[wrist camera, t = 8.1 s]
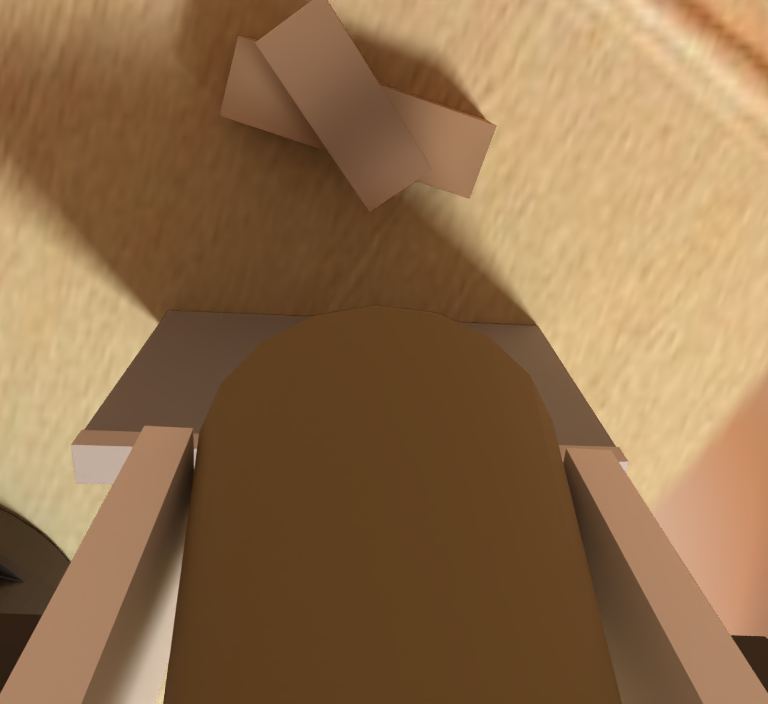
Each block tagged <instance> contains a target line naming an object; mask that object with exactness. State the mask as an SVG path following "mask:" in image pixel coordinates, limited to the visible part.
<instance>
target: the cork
mask: <svg viewBox="0 0 768 704" xmlns="http://www.w3.org/2000/svg"><path fill="white" fill-rule="evenodd" d="M163 704H622V701H621V697H620V693H619V689H618V685H617V681H616V677H615V672H614V668H613V664H612V660H611V656H610V652H609V648H608V644H607V640H606V636H605V632H604V628H603V624H602V620H601V615H600V611H599V607H598V603H597V599H596V595H595V591H594V587H593V583H592V579H591V575H590V571H589V567H588V562H587V558H586V554H585V550H584V546H583V542H582V538H581V534H580V530H579V526H578V522H577V518H576V514H575V509H574V505H573V501H572V497H571V493H570V489H569V485H568V481H567V477H566V473H565V469H564V465H563V461H562V457H561V452H560V448H559V444H558V440H557V436H556V432H555V428H554V424H553V421H552V419H551V417H550V415H549V413H548V411H547V409H546V407H545V404H544V402H543V400H542V398H541V396H540V394H539V392H538V390H537V388H536V386H535V384H534V382H533V380H532V378H531V376H530V375H529V374H528V373H527V372H526V371H525V370H524V369H523V368H522V367H521V366H520V365H519V364H518V363H517V362H516V361H514V360H513V359H512V358H511V357H510V356H509V355H508V354H507V353H506V352H505V351H504V350H503V349H502V348H501V347H500V346H499V345H498V344H497V343H496V342H495V341H494V340H492V339H491V338H490V337H488V336H486V335H484V334H482V333H480V332H477V331H475V330H473V329H471V328H469V327H467V326H464V325H462V324H460V323H458V322H456V321H454V320H451V319H449V318H447V317H445V316H443V315H441V314H438V313H435V312H427V311H420V310H412V309H404V308H396V307H388V306H380V305H372V306H366V307H360V308H355V309H349V310H343V311H337V312H331V313H326V314H320V315H314V316H312V317H310V318H308V319H306V320H304V321H302V322H300V323H299V324H297V325H295V326H293V327H291V328H289V329H287V330H285V331H283V332H281V333H279V334H277V335H275V336H273V337H271V338H269V339H267V340H265V341H264V342H262V343H260V344H259V345H258V346H257V347H256V348H255V349H254V350H253V351H252V352H251V353H250V354H249V355H248V356H247V357H246V358H245V359H244V360H243V362H242V363H241V364H240V365H239V366H238V367H237V368H236V369H235V370H234V371H233V372H232V373H231V374H230V375H229V376H228V377H227V378H226V379H225V380H224V381H223V382H222V383H221V385H220V387H219V389H218V391H217V393H216V396H215V398H214V400H213V402H212V405H211V407H210V409H209V411H208V413H207V416H206V418H205V420H204V422H203V424H202V427H201V429H200V431H199V437H198V445H197V453H196V460H195V468H194V475H193V483H192V490H191V498H190V505H189V513H188V521H187V528H186V536H185V543H184V551H183V558H182V566H181V574H180V581H179V589H178V596H177V604H176V611H175V619H174V627H173V634H172V642H171V649H170V657H169V664H168V672H167V679H166V687H165V695H164V702H163Z"/></svg>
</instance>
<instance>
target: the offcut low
mask: <svg viewBox="0 0 768 704" xmlns="http://www.w3.org/2000/svg"><path fill="white" fill-rule="evenodd" d="M256 41H258V40H257V39H255V38H252V37H249V36H241V35H238V39H237V43H236V47H235V51H234V56H233V60H232V64H231V68H230V73H229V77H228V81H227V85H226V90H225V94H224V98H223V102H222V107H221V111H220V115H219V116H222V117H225V118H228V119H231V120H234V121H237V122H240V123H243V124H246V125H249V126H252V127H255V128H258V129H261V130H264V131H267V132H270V133H273V134H276V135H279V136H282V137H285V138H288V139H291V140H294V141H297V142H300V143H303V144H306V145H309V146H312V147H315V148H318V149H321V150H324V151H327V152H328V150H327V149H326V147H325V146H324V144H323V143H322V141H321V140H320V138H319V137H318V136H317V134H316V133H315V131H314V130H313V128H312V127H311V125H310V124H309V122H308V121H307V119H306V118H305V116H304V115H303V113H302V112H301V110H300V109H299V107H298V106H297V104H296V103H295V101H294V100H293V98H292V97H291V95H290V94H289V92H288V91H287V90H286V88H285V87H284V85H283V84H282V82H281V81H280V79H279V78H278V76H277V75H276V73H275V72H274V70H273V69H272V67H271V66H270V64H269V63H268V61H267V60H266V58H265V57H264V55H263V54H262V52H261V51H260V49H259V48H258V46H257V45H256V44H255V42H256ZM379 84H380V85H381V87H382V89H383V90H384V92H385V94H386V95H387V97H388V98H389V100H390V102H391V103H392V105H393V106H394V108H395V110H396V111H397V113H398V114H399V116H400V118H401V119H402V121H403V122H404V124H405V126H406V127H407V129H408V130H409V132H410V134H411V135H412V137H413V138H414V140H415V142H416V143H417V145H418V147H419V148H420V150H421V151H422V153H423V155H424V156H425V158H426V159H427V161H428V163H429V165H430V166H431V168H432V171H430V172H429V173H427V174H426V175H424V176H423V177H421V178H420V179H418V180H417V181H418V182H421V183H424V184H427V185H430V186H433V187H436V188H439V189H442V190H445V191H448V192H451V193H454V194H457V195H460V196H463V197H466V198H470V195H471V193H472V190H473V187H474V185H475V182H476V179H477V177H478V174H479V171H480V169H481V166H482V163H483V161H484V158H485V155H486V153H487V150H488V147H489V145H490V142H491V139H492V137H493V134H494V131H495V129H496V125H494V124H492V123H491V122H489V121H487V120H485V119H482V118H479V117H476V116H474V115H471V114H468V113H465V112H462V111H459V110H457V109H454V108H451V107H448V106H445V105H442V104H440V103H437V102H434V101H431V100H428V99H425V98H422V97H420V96H417V95H414V94H411V93H408V92H405V91H403V90H400V89H397V88H394V87H391V86H388V85H385V84H383V83H380V82H379Z"/></svg>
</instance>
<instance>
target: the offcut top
mask: <svg viewBox="0 0 768 704" xmlns="http://www.w3.org/2000/svg"><path fill="white" fill-rule="evenodd" d="M255 44H256V45H257V46H258V48H259V49H260V51H261V52H262V54H263V55H264V57H265V58H266V60H267V61H268V63H269V64H270V66H271V67H272V69H273V70H274V72H275V73H276V75H277V76H278V78H279V79H280V81H281V82H282V84H283V85H284V87H285V88H286V90H287V91H288V92H289V94H290V95H291V97H292V98H293V100H294V101H295V103H296V104H297V106H298V107H299V109H300V110H301V112H302V113H303V115H304V116H305V118H306V119H307V121H308V122H309V124H310V125H311V127H312V128H313V130H314V131H315V133H316V134H317V136H318V137H319V138H320V140H321V141H322V143H323V144H324V146H325V147H326V149H327V150H328V152H329V153H330V155H331V156H332V158H333V159H334V161H335V162H336V164H337V165H338V167H339V168H340V170H341V171H342V173H343V174H344V176H345V177H346V179H347V180H348V182H349V183H350V184H351V186H352V187H353V189H354V190H355V192H356V193H357V195H358V196H359V198H360V199H361V201H362V202H363V204H364V205H365V207H366V208H367V210H368V211H369V212H370V211H372V210H373V209H375V208H376V207H378V206H379V205H381V204H382V203H384V202H385V201H387V200H388V199H390V198H391V197H393V196H394V195H396V194H397V193H399V192H400V191H402V190H403V189H405V188H406V187H408V186H409V185H411V184H412V183H414V182H415V181H417V180H418V179H420V178H421V177H423V176H424V175H426V174H427V173H429V172H430V171H432V168H431V166H430V165H429V163H428V161H427V159H426V158H425V156H424V155H423V153H422V151H421V150H420V148H419V147H418V145H417V143H416V142H415V140H414V138H413V137H412V135H411V134H410V132H409V130H408V129H407V127H406V126H405V124H404V122H403V121H402V119H401V118H400V116H399V114H398V113H397V111H396V110H395V108H394V106H393V105H392V103H391V102H390V100H389V98H388V97H387V95H386V94H385V92H384V90H383V89H382V87H381V85H380V84H379V82H378V81H377V79H376V77H375V76H374V74H373V73H372V71H371V69H370V68H369V66H368V65H367V63H366V61H365V60H364V58H363V57H362V55H361V53H360V52H359V50H358V49H357V47H356V45H355V44H354V42H353V40H352V39H351V37H350V36H349V34H348V32H347V31H346V29H345V28H344V26H343V24H342V23H341V21H340V20H339V18H338V16H337V15H336V13H335V12H334V10H333V8H332V7H331V5H330V4H329V2H328V0H311V1H310V2H309V3H307V4H306V5H305V6H303V7H302V8H301V9H299V10H298V11H297V12H295V13H294V14H293V15H291V16H290V17H289V18H287V19H286V20H285V21H283V22H282V23H281V24H279V25H278V26H276V27H275V28H274V29H272V30H271V31H270V32H268V33H267V34H266V35H264V36H263V37H262V38H260V39H259V40H258V41H256V42H255Z"/></svg>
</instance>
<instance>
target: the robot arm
mask: <svg viewBox="0 0 768 704" xmlns="http://www.w3.org/2000/svg"><path fill="white" fill-rule="evenodd" d="M563 465H564V469H565V473H566V477H567V481H568V485H569V489H570V493H571V497H572V501H573V505H574V509H575V514H576V518H577V522H578V526H579V530H580V534H581V538H582V542H583V546H584V550H585V554H586V558H587V562H588V567H589V571H590V575H591V579H592V583H593V587H594V591H595V595H596V599H597V603H598V607H599V611H600V615H601V620H602V624H603V628H604V632H605V636H606V640H607V644H608V648H609V652H610V656H611V660H612V664H613V668H614V672H615V677H616V681H617V685H618V689H619V693H620V697H621V701H622V704H768V639H767V638H766V637H763V636H734V635H732V636H731V635H730V634H729V632H728V631H727V629H726V628H725V626H724V625H723V623H722V621H721V620H720V618H719V617H718V615H717V614H716V612H715V611H714V609H713V608H712V606H711V604H710V603H709V601H708V600H707V598H706V597H705V595H704V594H703V592H702V590H701V589H700V587H699V586H698V584H697V583H696V581H695V580H694V578H693V576H692V575H691V573H690V572H689V570H688V569H687V567H686V566H685V564H684V562H683V561H682V559H681V558H680V556H679V555H678V553H677V552H676V550H675V548H674V547H673V545H672V544H671V543H670V541H669V539H668V538H667V536H666V535H665V533H664V531H663V530H662V528H661V527H660V525H659V524H658V522H657V521H656V519H655V517H654V516H653V514H652V513H651V511H650V510H649V508H648V507H647V505H646V503H645V502H644V500H643V499H642V497H641V496H640V494H639V493H638V491H637V490H636V488H635V486H634V485H633V483H632V482H631V480H630V479H629V477H628V476H627V474H626V472H625V471H624V469H623V468H622V466H621V465H620V463H619V462H618V460H617V458H616V457H615V455H614V454H613V452H612V451H611V450H598V449H580V448H566V451H565V456H564V461H563ZM193 475H194V436H193V428H180V427H161V426H144V427H143V429H142V431H141V433H140V435H139V437H138V439H137V440H136V442H135V444H134V446H133V448H132V450H131V452H130V453H129V455H128V457H127V459H126V461H125V463H124V465H123V466H122V468H121V470H120V472H119V474H118V476H117V478H116V479H115V481H114V483H113V485H112V487H111V489H110V491H109V492H108V494H107V496H106V498H105V500H104V502H103V504H102V505H101V507H100V509H99V511H98V513H97V515H96V517H95V518H94V520H93V522H92V524H91V526H90V528H89V530H88V531H87V533H86V535H85V537H84V539H83V541H82V543H81V544H80V546H79V548H78V550H77V552H76V554H75V556H74V557H73V559H72V561H71V563H70V562H69V561H68V560H67V559H66V558H65V557H64V555H63V554H62V553H61V552H60V551H59V550H58V549H57V548H56V547H55V546H54V545H53V544H52V543H51V542H49V541H48V540H47V539H46V538H45V537H44V536H42V535H41V534H40V533H38V532H37V531H36V530H34V529H33V528H32V527H30V526H29V525H27V524H26V523H24V522H23V521H21V520H19V519H18V518H16V517H14V516H12V515H11V514H9V513H7V512H5V511H3V510H1V509H0V704H156V702H157V698H158V695H159V692H160V688H161V685H162V681H163V678H164V675H165V671H166V668H167V664H168V661H169V657H170V649H171V642H172V634H173V627H174V619H175V611H176V604H177V596H178V589H179V581H180V574H181V566H182V558H183V551H184V543H185V536H186V528H187V521H188V513H189V505H190V498H191V490H192V483H193Z"/></svg>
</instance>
